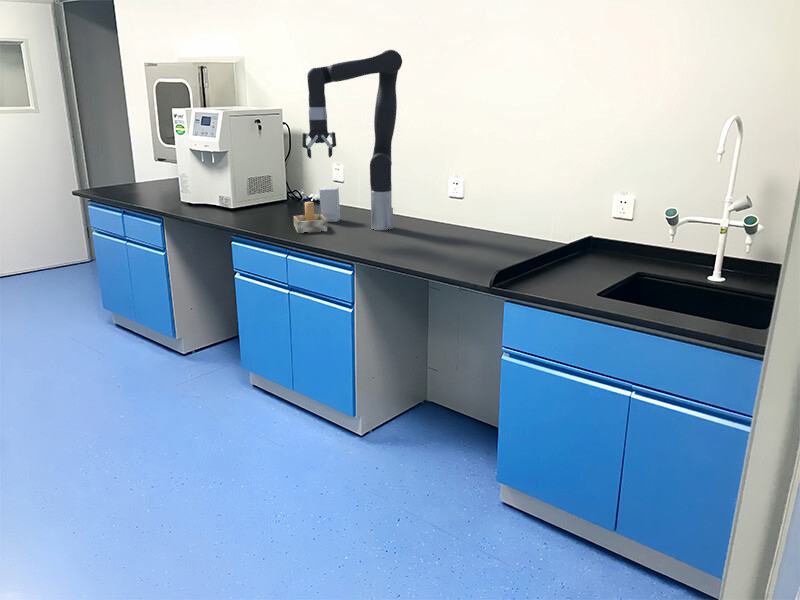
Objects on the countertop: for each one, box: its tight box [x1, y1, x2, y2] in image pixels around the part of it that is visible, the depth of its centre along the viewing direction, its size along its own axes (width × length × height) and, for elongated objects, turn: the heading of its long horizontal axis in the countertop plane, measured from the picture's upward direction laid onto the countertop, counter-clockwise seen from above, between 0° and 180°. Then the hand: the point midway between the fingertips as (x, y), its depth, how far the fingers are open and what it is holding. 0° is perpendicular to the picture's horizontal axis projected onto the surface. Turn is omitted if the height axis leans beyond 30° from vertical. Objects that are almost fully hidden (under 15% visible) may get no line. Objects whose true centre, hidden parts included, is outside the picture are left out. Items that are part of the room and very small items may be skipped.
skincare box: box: [318, 186, 341, 223], centre depth 297 cm, size 8×7×16 cm
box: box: [293, 213, 328, 234], centre depth 282 cm, size 13×13×5 cm
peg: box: [304, 201, 315, 221], centre depth 281 cm, size 4×4×12 cm
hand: (319, 157), depth 270 cm, fingers open, 8 cm apart
